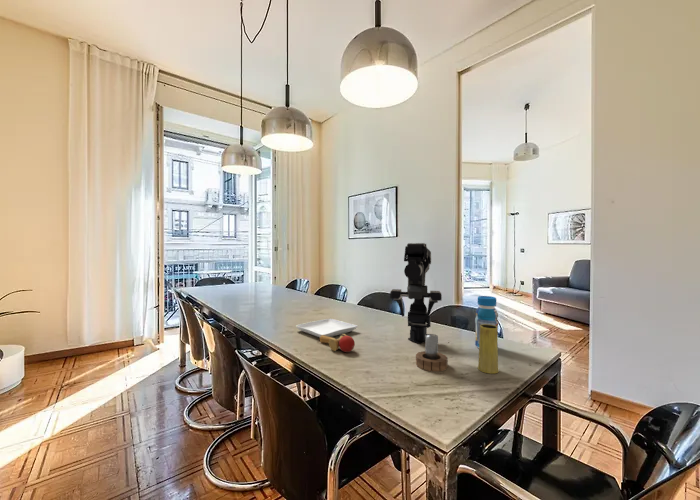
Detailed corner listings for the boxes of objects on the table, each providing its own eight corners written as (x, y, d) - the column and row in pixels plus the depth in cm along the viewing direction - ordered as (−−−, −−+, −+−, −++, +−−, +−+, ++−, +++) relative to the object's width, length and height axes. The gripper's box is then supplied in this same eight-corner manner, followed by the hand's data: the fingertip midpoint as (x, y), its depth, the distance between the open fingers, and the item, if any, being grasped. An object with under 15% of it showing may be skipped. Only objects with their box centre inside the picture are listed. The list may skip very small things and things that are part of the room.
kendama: (313, 348, 122) (343, 353, 109) (314, 331, 123) (344, 335, 110) (328, 347, 127) (358, 352, 114) (329, 331, 128) (359, 335, 116)
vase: (497, 375, 94) (498, 329, 93) (476, 371, 97) (476, 326, 97) (499, 369, 99) (500, 325, 99) (479, 365, 102) (480, 322, 102)
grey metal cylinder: (431, 362, 104) (431, 333, 104) (440, 366, 101) (440, 336, 101) (422, 364, 102) (423, 334, 102) (431, 368, 99) (431, 338, 99)
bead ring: (431, 357, 108) (431, 349, 108) (453, 367, 100) (453, 358, 100) (409, 363, 103) (410, 354, 103) (431, 373, 95) (431, 364, 95)
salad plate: (294, 331, 141) (294, 324, 141) (329, 324, 155) (329, 317, 155) (322, 342, 125) (322, 334, 125) (358, 333, 140) (358, 325, 140)
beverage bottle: (483, 352, 115) (484, 299, 114) (470, 344, 123) (470, 295, 123) (503, 350, 116) (503, 298, 116) (488, 343, 125) (489, 295, 124)
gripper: (388, 278, 109) (388, 321, 109) (442, 279, 105) (442, 324, 105) (391, 274, 120) (391, 314, 120) (440, 276, 116) (440, 316, 116)
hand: (415, 317), depth 115 cm, fingers open, 9 cm apart
